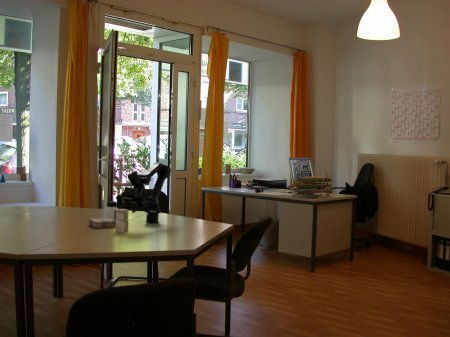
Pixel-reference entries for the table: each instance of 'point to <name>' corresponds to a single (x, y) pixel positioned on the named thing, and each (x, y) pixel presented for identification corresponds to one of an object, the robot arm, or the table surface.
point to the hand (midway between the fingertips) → (125, 212)
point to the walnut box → (102, 223)
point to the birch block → (121, 220)
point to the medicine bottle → (111, 210)
